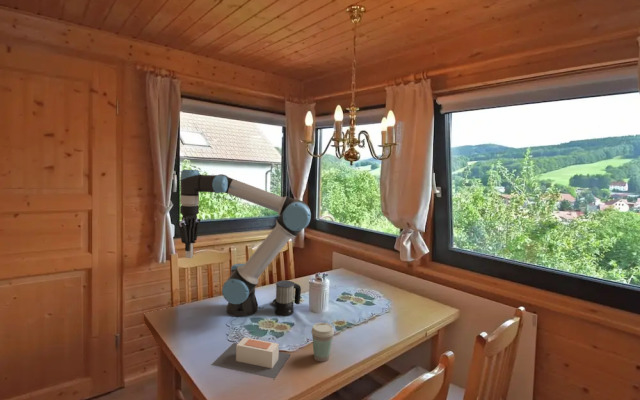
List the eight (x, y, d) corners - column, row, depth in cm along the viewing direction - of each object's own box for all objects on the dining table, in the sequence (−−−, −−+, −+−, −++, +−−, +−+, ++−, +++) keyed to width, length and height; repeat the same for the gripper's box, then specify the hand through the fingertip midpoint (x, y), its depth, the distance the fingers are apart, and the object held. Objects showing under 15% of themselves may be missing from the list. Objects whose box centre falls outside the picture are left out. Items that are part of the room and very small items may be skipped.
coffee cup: (331, 351, 133) (333, 322, 132) (333, 364, 125) (334, 332, 123) (310, 350, 133) (311, 321, 132) (310, 363, 124) (311, 332, 123)
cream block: (236, 344, 122) (272, 351, 119) (244, 336, 128) (278, 343, 124) (236, 360, 123) (271, 368, 119) (243, 352, 128) (278, 359, 125)
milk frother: (285, 318, 160) (287, 288, 159) (260, 309, 169) (261, 281, 167) (302, 308, 173) (303, 280, 171) (278, 301, 181) (279, 274, 179)
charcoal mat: (211, 366, 120) (211, 364, 120) (233, 344, 135) (233, 342, 135) (274, 380, 114) (274, 378, 114) (290, 355, 129) (290, 353, 129)
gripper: (191, 203, 155) (191, 253, 158) (172, 205, 143) (172, 260, 145) (205, 204, 153) (205, 255, 156) (187, 207, 141) (187, 262, 143)
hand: (189, 257), depth 150 cm, fingers closed
